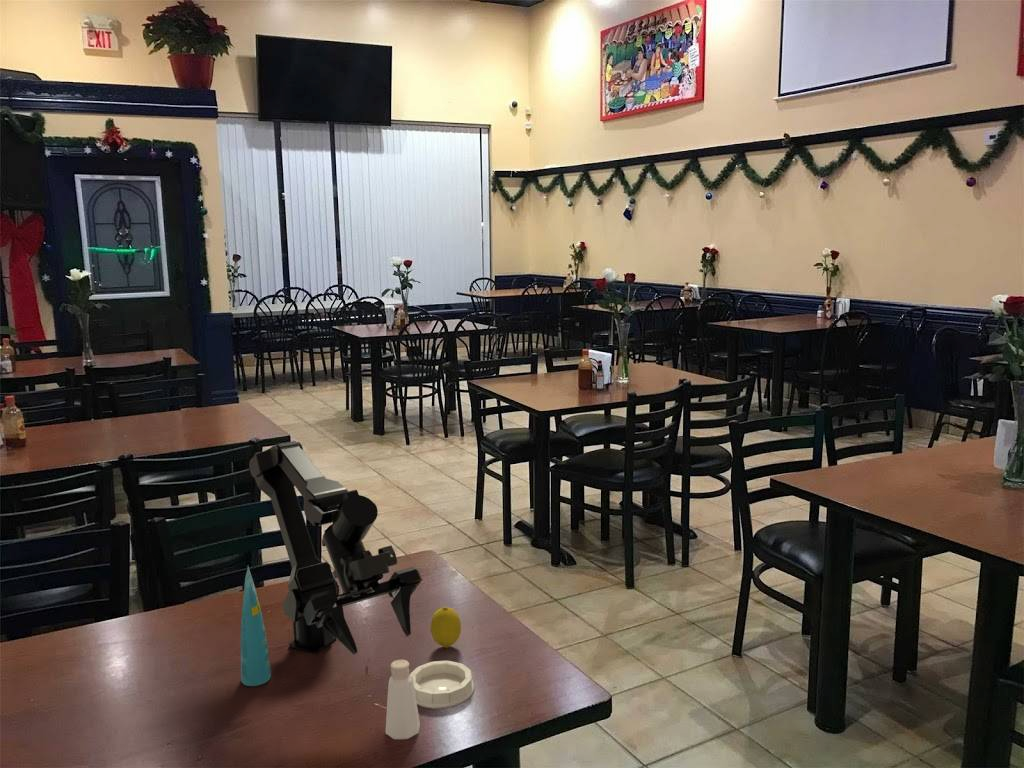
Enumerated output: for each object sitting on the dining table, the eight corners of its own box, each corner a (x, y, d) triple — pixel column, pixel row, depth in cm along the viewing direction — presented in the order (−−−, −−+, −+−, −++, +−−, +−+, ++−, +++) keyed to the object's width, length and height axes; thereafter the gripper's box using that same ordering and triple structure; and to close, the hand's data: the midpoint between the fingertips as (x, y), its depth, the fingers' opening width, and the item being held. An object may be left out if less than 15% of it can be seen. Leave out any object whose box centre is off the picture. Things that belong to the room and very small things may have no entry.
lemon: (457, 656, 145) (455, 614, 144) (427, 653, 147) (425, 612, 145) (464, 641, 151) (463, 601, 149) (436, 639, 152) (434, 599, 150)
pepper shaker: (378, 735, 122) (374, 668, 120) (396, 716, 127) (393, 651, 125) (409, 743, 120) (406, 675, 118) (427, 723, 125) (424, 657, 123)
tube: (274, 686, 137) (266, 579, 133) (244, 693, 135) (235, 584, 131) (267, 665, 143) (259, 563, 140) (238, 672, 141) (230, 568, 138)
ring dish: (394, 700, 132) (394, 686, 131) (428, 667, 142) (428, 654, 141) (454, 714, 127) (454, 700, 127) (485, 680, 137) (484, 667, 137)
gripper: (305, 546, 122) (340, 642, 115) (414, 519, 133) (451, 606, 126) (290, 578, 130) (321, 670, 123) (393, 551, 140) (428, 634, 134)
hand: (382, 644), depth 126 cm, fingers open, 9 cm apart
